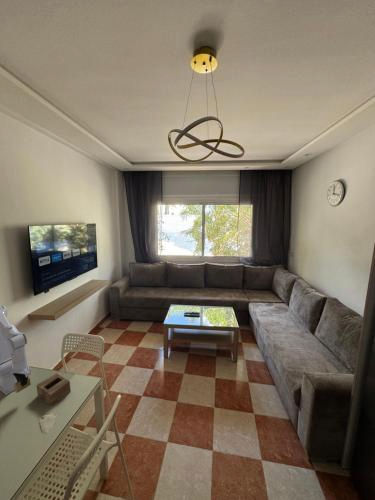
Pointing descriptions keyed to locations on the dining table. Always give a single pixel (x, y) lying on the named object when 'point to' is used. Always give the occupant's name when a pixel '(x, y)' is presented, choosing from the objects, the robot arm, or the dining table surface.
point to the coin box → (53, 388)
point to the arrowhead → (47, 422)
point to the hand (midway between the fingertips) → (22, 383)
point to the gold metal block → (18, 386)
